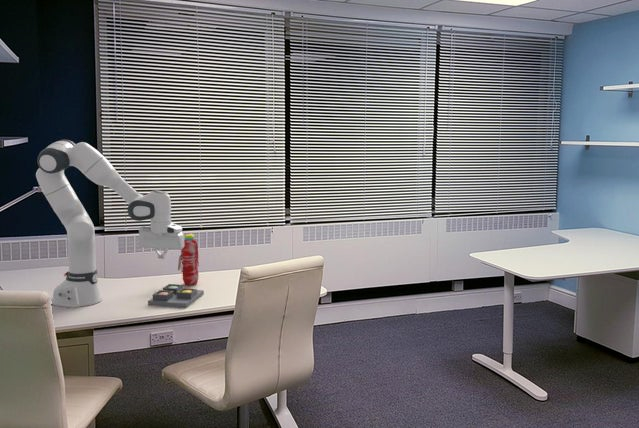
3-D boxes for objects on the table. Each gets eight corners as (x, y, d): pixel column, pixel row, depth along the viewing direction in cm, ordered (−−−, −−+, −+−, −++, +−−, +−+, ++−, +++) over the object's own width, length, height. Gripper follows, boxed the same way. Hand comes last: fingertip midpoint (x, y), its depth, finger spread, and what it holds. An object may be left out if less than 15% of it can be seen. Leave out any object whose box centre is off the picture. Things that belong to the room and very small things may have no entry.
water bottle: (173, 284, 291) (171, 234, 287) (181, 280, 299) (180, 231, 295) (194, 287, 288) (193, 236, 283) (202, 282, 295) (201, 233, 291)
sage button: (166, 292, 272) (166, 288, 271) (170, 289, 276) (170, 285, 275) (175, 293, 271) (175, 288, 270) (179, 290, 275) (179, 286, 275)
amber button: (180, 296, 265) (180, 292, 265) (184, 294, 269) (184, 289, 269) (189, 297, 264) (189, 293, 264) (193, 294, 269) (193, 290, 268)
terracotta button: (156, 299, 262) (156, 294, 261) (161, 296, 266) (160, 291, 266) (165, 299, 261) (165, 295, 261) (170, 296, 265) (170, 292, 265)
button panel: (148, 305, 260) (147, 295, 259) (167, 292, 279) (167, 282, 279) (186, 307, 257) (186, 298, 256) (203, 294, 276) (203, 285, 275)
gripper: (135, 227, 257) (136, 258, 259) (179, 229, 253) (180, 261, 256) (142, 224, 263) (143, 255, 265) (185, 227, 260) (186, 258, 262)
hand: (161, 258), depth 261 cm, fingers closed
